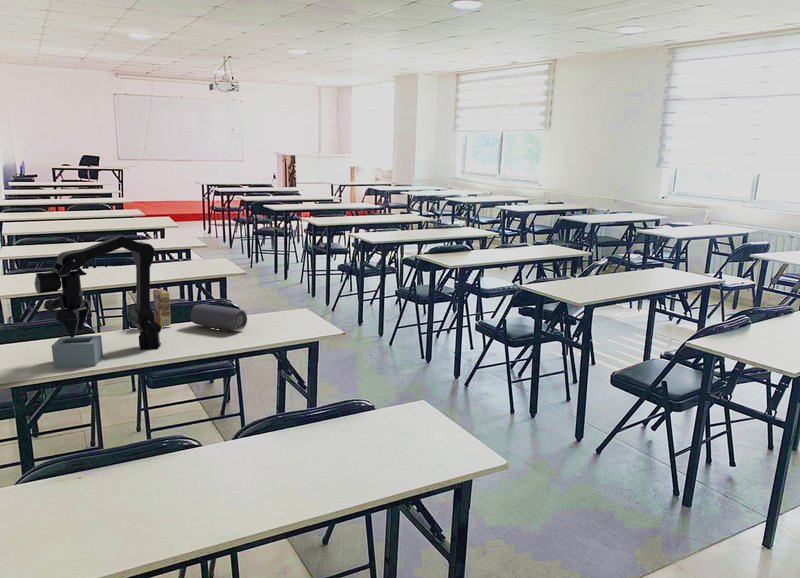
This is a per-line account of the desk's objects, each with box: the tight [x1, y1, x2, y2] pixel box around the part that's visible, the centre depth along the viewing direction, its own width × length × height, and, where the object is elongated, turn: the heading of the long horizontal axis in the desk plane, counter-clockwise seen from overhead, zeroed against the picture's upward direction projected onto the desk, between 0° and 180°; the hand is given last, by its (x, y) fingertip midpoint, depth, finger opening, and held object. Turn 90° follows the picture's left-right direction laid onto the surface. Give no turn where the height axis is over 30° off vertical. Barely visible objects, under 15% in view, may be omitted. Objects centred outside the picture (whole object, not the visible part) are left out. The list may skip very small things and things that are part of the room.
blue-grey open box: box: [51, 334, 104, 369], centre depth 209 cm, size 13×10×8 cm
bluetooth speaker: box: [189, 304, 248, 332], centre depth 251 cm, size 23×9×10 cm, turn 68°
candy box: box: [152, 288, 172, 327], centre depth 255 cm, size 9×4×15 cm, turn 39°
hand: (76, 333), depth 208 cm, fingers open, 9 cm apart
